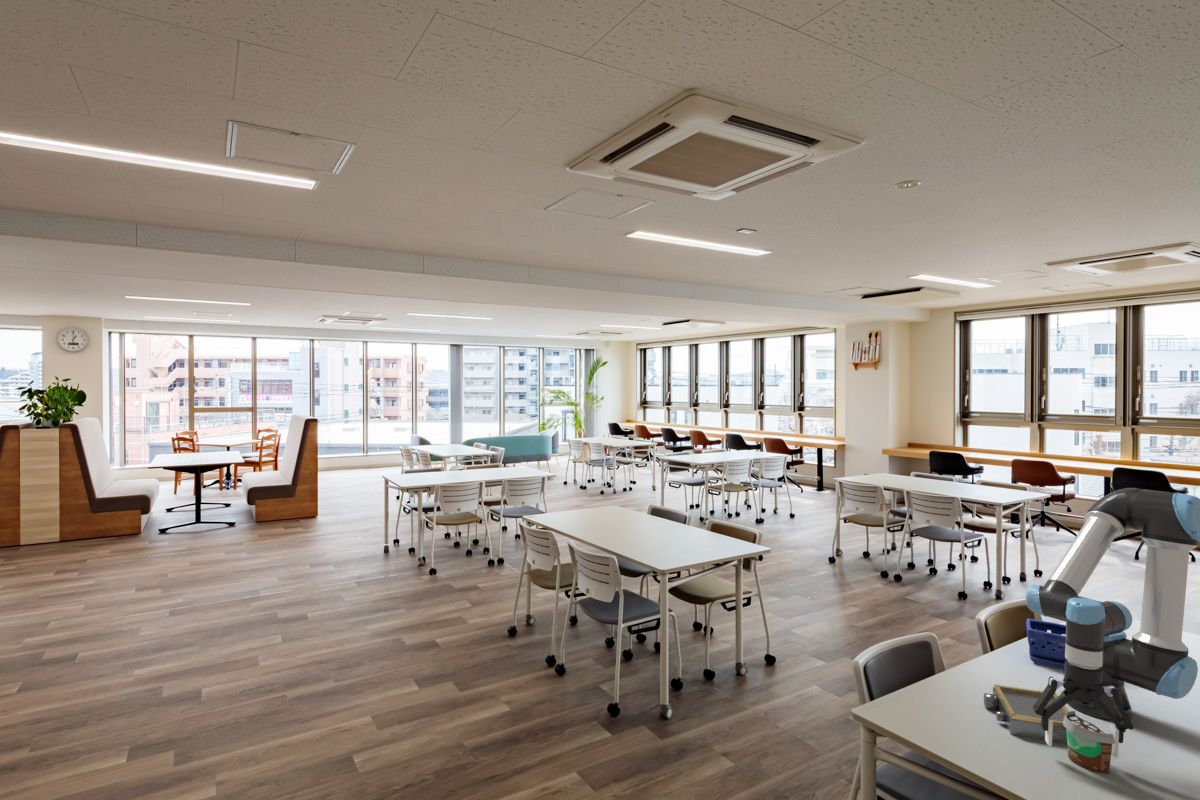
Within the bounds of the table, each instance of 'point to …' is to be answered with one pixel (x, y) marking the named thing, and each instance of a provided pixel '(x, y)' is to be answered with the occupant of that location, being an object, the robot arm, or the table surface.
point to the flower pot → (1046, 643)
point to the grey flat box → (1024, 712)
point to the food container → (1088, 744)
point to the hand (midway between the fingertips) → (1080, 749)
